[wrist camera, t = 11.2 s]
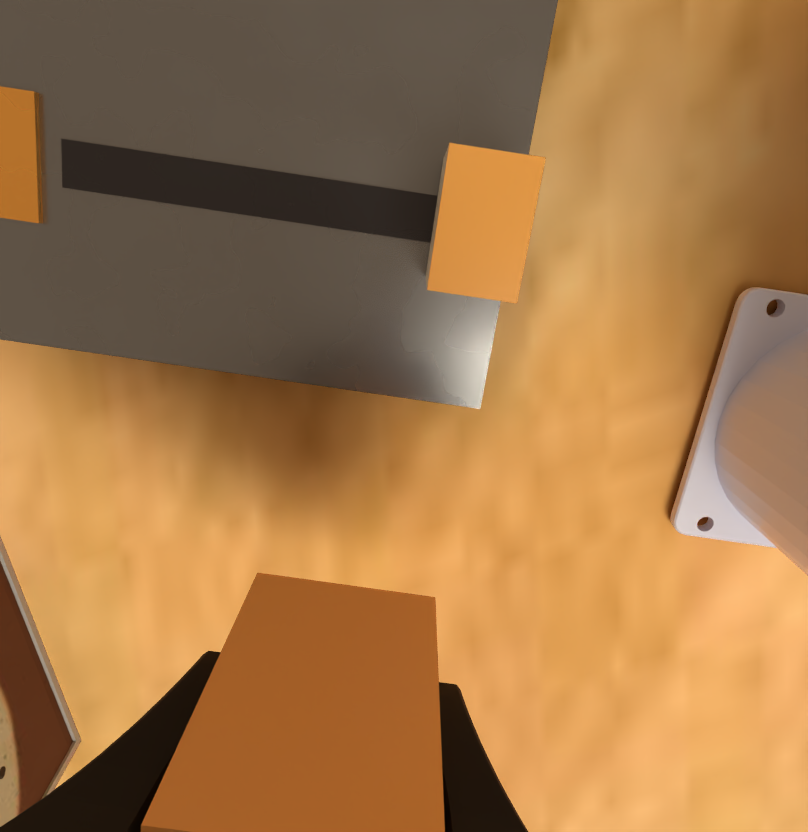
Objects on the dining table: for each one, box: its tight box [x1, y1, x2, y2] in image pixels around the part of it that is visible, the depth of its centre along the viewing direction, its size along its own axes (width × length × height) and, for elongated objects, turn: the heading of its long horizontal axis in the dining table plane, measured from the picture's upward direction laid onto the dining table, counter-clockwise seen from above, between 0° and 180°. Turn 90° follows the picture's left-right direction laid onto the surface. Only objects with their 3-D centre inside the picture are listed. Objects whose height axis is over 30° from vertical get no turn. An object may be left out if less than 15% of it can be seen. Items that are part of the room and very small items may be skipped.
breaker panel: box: [0, 0, 558, 409], centre depth 16 cm, size 14×18×2 cm
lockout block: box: [141, 573, 445, 832], centre depth 11 cm, size 4×4×6 cm
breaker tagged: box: [426, 143, 546, 303], centre depth 15 cm, size 2×3×3 cm, turn 172°
